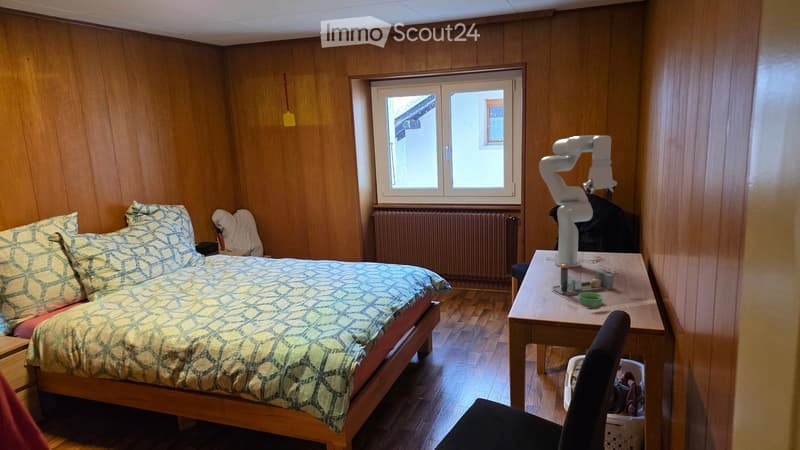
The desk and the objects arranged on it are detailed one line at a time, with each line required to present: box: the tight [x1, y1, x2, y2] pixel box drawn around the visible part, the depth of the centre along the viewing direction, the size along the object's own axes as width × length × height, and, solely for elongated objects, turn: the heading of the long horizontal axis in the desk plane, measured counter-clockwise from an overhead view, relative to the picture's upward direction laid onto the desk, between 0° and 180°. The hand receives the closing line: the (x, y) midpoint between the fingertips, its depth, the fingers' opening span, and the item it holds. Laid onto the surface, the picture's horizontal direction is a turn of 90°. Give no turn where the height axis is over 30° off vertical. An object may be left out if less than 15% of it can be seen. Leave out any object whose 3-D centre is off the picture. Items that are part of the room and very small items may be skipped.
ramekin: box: [578, 292, 604, 311], centre depth 196 cm, size 9×9×4 cm
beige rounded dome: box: [590, 278, 601, 288], centre depth 213 cm, size 4×4×3 cm
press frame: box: [551, 269, 618, 301], centre depth 212 cm, size 12×24×8 cm, turn 106°
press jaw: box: [552, 263, 583, 295], centre depth 209 cm, size 7×9×12 cm
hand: (599, 201), depth 225 cm, fingers open, 9 cm apart
